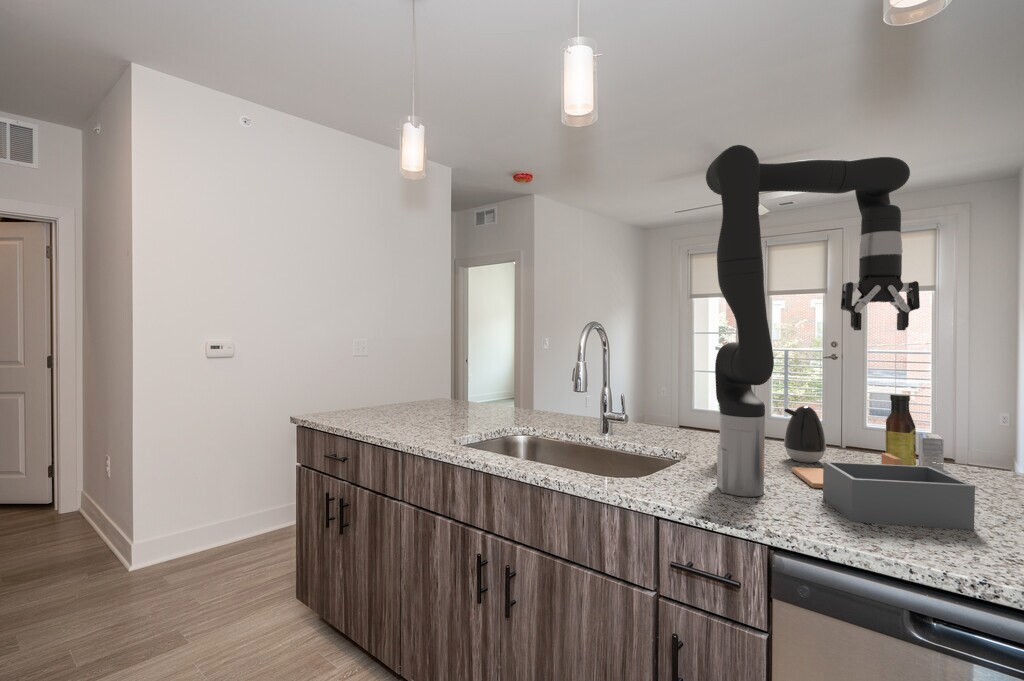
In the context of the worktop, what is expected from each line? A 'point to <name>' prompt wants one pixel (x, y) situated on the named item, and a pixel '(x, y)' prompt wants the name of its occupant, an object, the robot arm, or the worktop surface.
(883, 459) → the lid
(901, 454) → the sauce bottle
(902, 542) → the worktop surface
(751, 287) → the robot arm
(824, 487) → the tub
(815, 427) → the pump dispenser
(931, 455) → the medicine box
